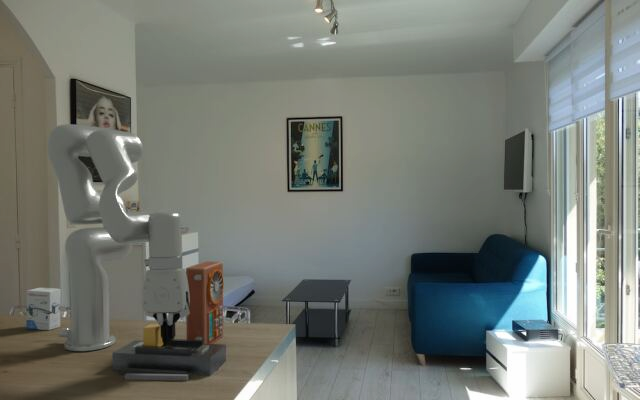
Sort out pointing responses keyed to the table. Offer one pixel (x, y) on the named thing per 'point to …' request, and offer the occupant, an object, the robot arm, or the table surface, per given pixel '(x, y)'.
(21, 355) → the table surface
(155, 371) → the dark grey long bar
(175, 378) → the grey square bar
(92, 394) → the table surface
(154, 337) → the yellow block
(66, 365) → the table surface
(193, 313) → the control panel
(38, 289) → the ink box
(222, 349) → the slider track
